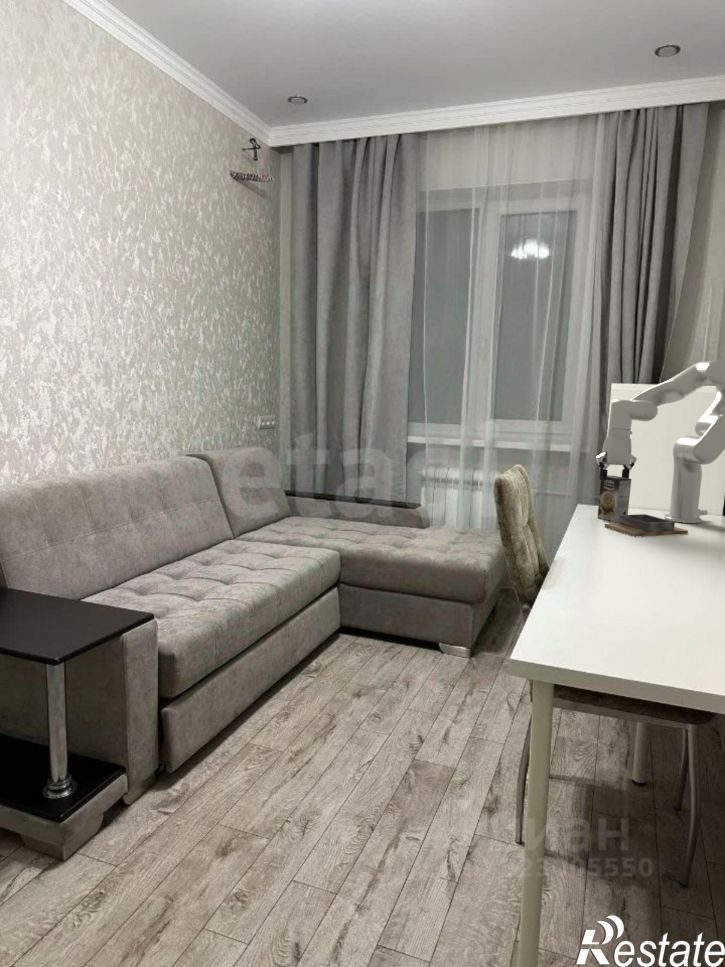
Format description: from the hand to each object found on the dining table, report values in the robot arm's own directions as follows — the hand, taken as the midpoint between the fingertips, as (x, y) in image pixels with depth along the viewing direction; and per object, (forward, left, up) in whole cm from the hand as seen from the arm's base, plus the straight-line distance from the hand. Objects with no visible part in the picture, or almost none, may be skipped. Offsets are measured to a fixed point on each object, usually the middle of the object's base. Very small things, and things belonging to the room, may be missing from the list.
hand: (614, 480), depth 241 cm
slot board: (0, +19, -15) cm, 24 cm away
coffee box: (-1, 0, -15) cm, 15 cm away
